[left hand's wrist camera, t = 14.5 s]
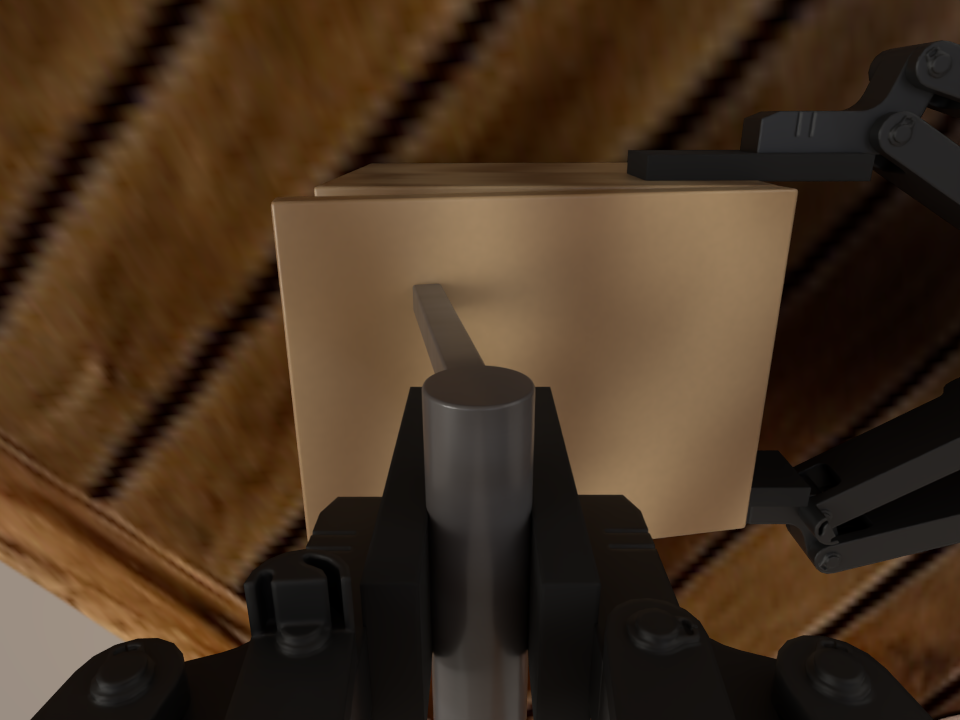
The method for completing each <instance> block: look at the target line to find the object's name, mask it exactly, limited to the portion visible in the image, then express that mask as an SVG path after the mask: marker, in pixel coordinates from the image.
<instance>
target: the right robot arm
mask: <svg viewBox="0 0 960 720" xmlns="http://www.w3.org/2000/svg"><path fill="white" fill-rule="evenodd" d="M868 73H869V81H870V83H869V85H868V87H867V89H866V91H865V92H864V94H863V96H862V97H861V99H860V100H859V101H858V102H857V103H856V104H855V105H853V106H852V107H850V108H848V109H846V110H843V111H769V112H759V113H757V114H754V115H752V116H749V117H747V118H744V123H743V131H742V139H741V147H740V150H628V162H627V174H629V175H632V176H635V177H637V178H640V179H642V180H645V181H740V180H757V181H870V180H871V175H872V170H874V171H875V172H877V173H878V174H880V175H881V176H883V177H884V178H885V179H887V180H888V181H890V182H891V183H893V184H894V185H895V186H897V187H898V188H900V189H901V190H903V191H904V192H905V193H907V194H908V195H910V196H911V197H913V198H914V199H916V200H917V201H918V202H920V203H921V204H923V205H924V206H926V207H927V208H928V209H930V210H931V211H933V212H934V213H936V214H937V215H938V216H940V217H941V218H943V219H944V220H946V221H947V222H949V223H950V224H951V225H953V226H954V227H956V228H957V229H959V230H960V147H959V146H958V145H957V144H955V143H954V142H953V141H951V140H950V139H948V138H947V137H946V136H944V135H943V134H942V133H940V132H939V131H937V130H936V129H935V128H933V127H932V126H931V125H929V124H928V123H926V122H925V121H924V120H922V119H921V116H922V115H923V113H924V111H925V109H926V107H928V108H931V109H933V110H936V111H939V112H942V113H945V114H948V115H951V116H953V117H956V118H959V119H960V45H958V44H956V43H953V42H950V41H936V42H930V43H924V44H918V45H912V46H906V47H900V48H894V49H889V50H886V51H883V52H881V53H880V54H879V55H878V56H876V57H875V59H874V60H873V62H872V63H871V65H870V69H869V72H868ZM747 523H749V524H786V527H787V529H788V531H789V532H790V534H791V535H792V536H793V538H794V539H795V540H796V542H797V543H798V544H799V546H800V547H801V548H802V550H803V551H804V552H805V554H806V555H807V556H808V558H809V559H810V560H811V562H812V563H813V565H814V566H815V567H816V569H818V570H819V571H820V572H822V573H826V574H829V573H836V572H840V571H844V570H848V569H852V568H856V567H861V566H865V565H869V564H873V563H877V562H881V561H885V560H890V559H894V558H898V557H902V556H906V555H910V554H914V553H919V552H923V551H927V550H931V549H935V548H939V547H943V546H947V545H952V544H956V543H960V377H959V378H957V379H955V380H953V381H951V382H949V383H948V384H946V385H945V387H944V393H943V394H942V395H941V396H940V397H938V398H936V399H934V400H932V401H930V402H927V403H925V404H923V405H921V406H919V407H917V408H915V409H913V410H911V411H909V412H907V413H905V414H903V415H900V416H898V417H896V418H894V419H892V420H890V421H888V422H886V423H884V424H882V425H880V426H878V427H876V428H874V429H871V430H869V431H867V432H865V433H863V434H861V435H859V436H857V437H855V438H853V439H851V440H849V441H847V442H844V443H842V444H840V445H838V446H836V447H834V448H832V449H830V450H828V451H826V452H824V453H822V454H820V455H818V456H815V457H813V458H811V459H809V460H807V461H805V462H803V463H801V464H799V465H797V466H795V467H792V466H791V465H790V463H789V462H788V461H787V460H786V459H785V458H784V457H783V456H782V454H781V453H780V452H779V451H778V450H776V451H757V455H756V461H755V468H754V474H753V480H752V487H751V493H750V499H749V506H748V512H747V518H746V524H747Z"/></svg>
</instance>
